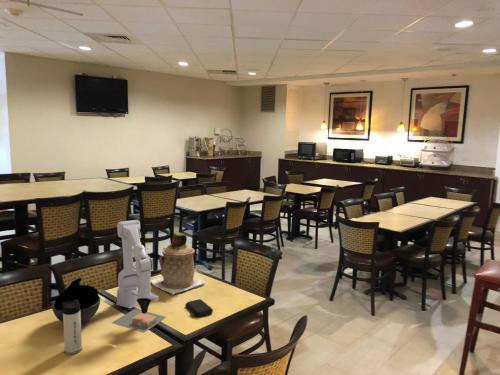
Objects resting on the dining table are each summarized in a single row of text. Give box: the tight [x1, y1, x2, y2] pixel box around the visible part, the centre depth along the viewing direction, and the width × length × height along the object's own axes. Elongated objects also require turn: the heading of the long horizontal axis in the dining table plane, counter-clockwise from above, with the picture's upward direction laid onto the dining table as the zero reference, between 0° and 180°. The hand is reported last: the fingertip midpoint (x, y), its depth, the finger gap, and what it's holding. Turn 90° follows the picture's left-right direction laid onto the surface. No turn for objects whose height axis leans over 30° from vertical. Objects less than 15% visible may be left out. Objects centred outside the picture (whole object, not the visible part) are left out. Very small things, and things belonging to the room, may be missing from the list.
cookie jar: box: [151, 231, 206, 296], centre depth 218 cm, size 25×25×32 cm
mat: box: [111, 308, 167, 334], centre depth 176 cm, size 19×16×1 cm
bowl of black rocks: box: [51, 277, 101, 325], centre depth 172 cm, size 20×20×19 cm
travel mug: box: [62, 301, 83, 356], centre depth 150 cm, size 6×7×20 cm
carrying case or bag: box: [185, 299, 214, 318], centre depth 188 cm, size 11×3×15 cm
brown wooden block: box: [132, 313, 157, 328], centre depth 174 cm, size 3×6×9 cm
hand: (144, 312), depth 173 cm, fingers closed
